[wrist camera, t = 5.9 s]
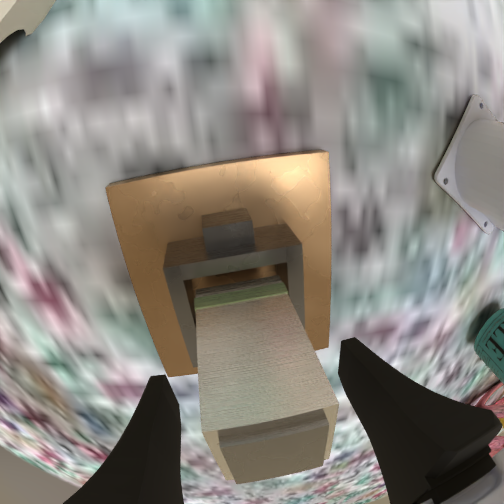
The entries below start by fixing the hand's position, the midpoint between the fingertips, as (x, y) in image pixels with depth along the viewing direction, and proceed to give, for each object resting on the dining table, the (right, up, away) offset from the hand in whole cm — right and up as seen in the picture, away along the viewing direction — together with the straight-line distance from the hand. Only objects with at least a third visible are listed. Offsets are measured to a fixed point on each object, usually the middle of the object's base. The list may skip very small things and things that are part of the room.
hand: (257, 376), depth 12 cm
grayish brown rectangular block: (-1, +2, +4) cm, 4 cm away
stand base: (-1, +4, +8) cm, 8 cm away
